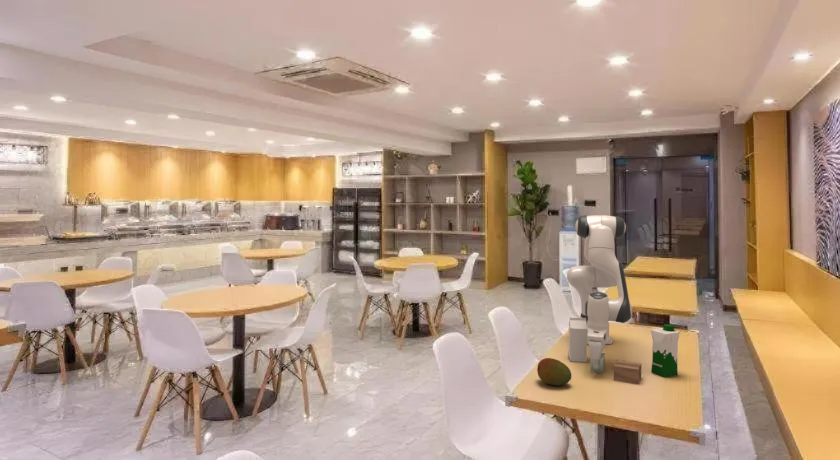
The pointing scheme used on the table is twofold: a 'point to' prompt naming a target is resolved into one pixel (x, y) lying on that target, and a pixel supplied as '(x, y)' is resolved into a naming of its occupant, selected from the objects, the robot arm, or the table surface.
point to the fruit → (553, 372)
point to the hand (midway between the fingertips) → (597, 364)
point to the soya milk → (665, 351)
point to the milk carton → (578, 339)
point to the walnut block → (627, 371)
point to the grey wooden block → (601, 365)
